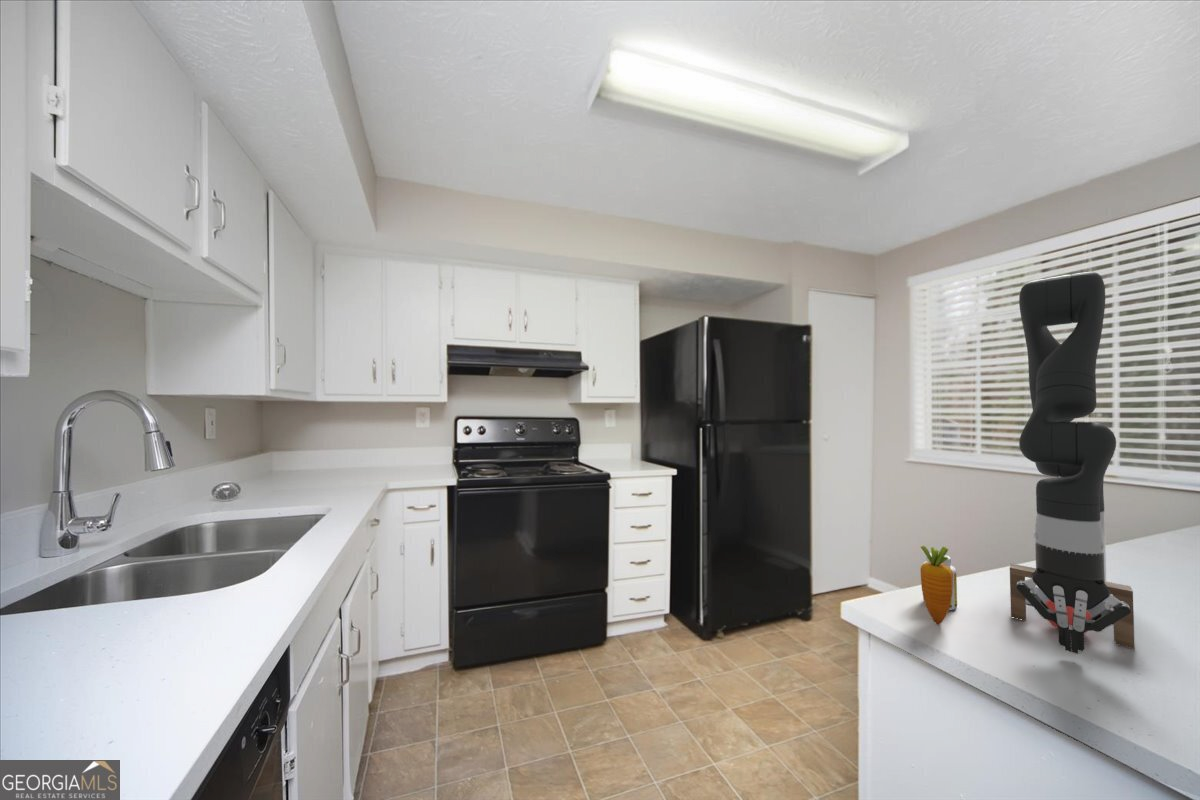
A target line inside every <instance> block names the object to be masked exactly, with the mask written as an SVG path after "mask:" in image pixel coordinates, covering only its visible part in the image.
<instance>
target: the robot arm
mask: <svg viewBox="0 0 1200 800" xmlns="http://www.w3.org/2000/svg"><path fill="white" fill-rule="evenodd" d="M1018 297H1019V298H1018V299H1019V300H1018V304H1019V311H1020V312H1019V313H1020V318H1021V324H1022V328H1023V334H1024V339H1025V344H1026V345H1025V346H1026V350H1027V362H1028V383H1029V394H1030V400H1031V402H1030V403H1031V406H1032V412H1031V414H1030V417H1028V420H1027V422H1026V424H1025V426H1024V427H1023V429H1022V432H1021V434H1020V437H1019V443H1018V444H1019V450H1020V452H1021V453H1022V456H1024V457H1025V458H1026V459H1027V460H1029V461H1031V462H1032V463H1033V462H1034V464H1035V467H1036V469H1037V471H1038V472H1039V473H1040V474H1042V475H1044V476H1048V477H1049V478H1042V479H1040V480H1038V481H1037V482H1036V487H1035V496H1036V498H1035V499H1036V516H1035V523H1034V534H1033V535H1034V539H1035V540H1034V541H1035V568H1036V570H1035V572H1034V573H1033V574H1032V578H1029V579H1028V578H1027V579H1025V581H1022V580H1019V581H1018V582H1017V589H1018V590H1019V592H1020V593H1021V594H1022V595H1023V596H1024V597H1025V598H1026V599H1027V600H1028V601H1029V603H1030V604H1031V605H1032V607H1033V608H1034V609H1035V610H1036V611H1037V612H1038V614H1039V615H1040V616H1041V617H1042V618H1043V619H1044V620H1046V621H1048V620H1051V621H1053V622H1055V623H1056V624H1057V625H1058V629H1057V635H1058V636H1057V637H1058V643H1059V646H1062V647H1064V651H1065V652H1066V651H1067V652H1069V653H1071V652H1072V653H1073V654H1079V651H1080V652H1084V651H1085V646H1086V645H1085V634H1086V633H1087V632H1088V631H1091V632H1092V631H1093V632H1095V633H1100V632H1102V631H1103V630H1105V629H1106V628H1109V626H1111V625H1113V623H1115V622H1117V621H1118V620H1120V619H1122V618H1123V617H1125V616H1127V615H1128V614H1130V613H1131V610H1130V608H1129V605H1128V604H1127V603H1126V602H1124V601H1120V600H1118V599H1117V598H1115V597H1114V596H1113V594H1110V591H1109V588H1108V587H1107V586H1106V584H1105V581H1106V582H1108V581H1107V554H1106V553H1107V552H1106V548H1107V547H1106V520H1105V519H1106V518H1105V517H1106V516H1105V499H1104V497H1105V496H1104V482H1105V481H1104V480H1105V479H1104V477H1105V476H1106V475H1105V474H1106V472H1107V470H1108V467H1109V465H1110V463H1111V461H1112V459H1113V456H1114V455H1115V451H1116V448H1117V438H1116V436H1115V433H1114V432H1113V431H1112V430H1111V428H1109V427H1108V426H1106V425H1104V424H1102V423H1099V422H1091V421H1090V422H1084V421H1081V422H1080V421H1079V422H1078V421H1077V422H1073V421H1074V420H1075V419H1079V418H1084V417H1086V416H1089V415H1091V414H1092V413H1093V412H1095V410H1096V407H1097V381H1096V380H1097V378H1096V368H1097V367H1096V366H1097V360H1098V359H1097V358H1098V353H1099V348H1100V343H1101V338H1102V334H1103V333H1102V332H1103V326H1104V318H1105V311H1106V310H1105V309H1106V287H1105V281H1104V280H1103V276H1102V275H1101V274H1099V273H1098V272H1094V271H1087V272H1078V273H1077V272H1076V273H1072V274H1065V275H1064V274H1063V275H1059V276H1054V277H1053V276H1052V277H1047V278H1041V279H1040V278H1039V279H1035V280H1031V281H1028V282H1026V283H1025V284H1023V286H1022V287H1021V288H1020V291H1019V296H1018ZM1074 323H1075V324H1076V325H1075V327H1074V328H1073V330H1072V332H1071V333H1070V334H1069V335H1068V337H1067V338H1066V339H1064V340H1063V342H1062V343H1061V342H1059V341H1058V340H1057V339H1056V338H1055V337H1054V336H1053V334H1052V333H1051V332H1050V330H1049V328H1048V326H1057V325H1066V324H1067V325H1068V324H1074ZM1036 586H1037V588H1040V590H1041V591H1042V592H1043V593H1044V594H1045V595H1046V596H1047V598H1048V599H1049V600H1051V601H1052V602H1054V603H1055V608H1056V612H1054V611H1052V610H1051V609H1050V608H1049V607H1048V606H1047V605H1046V604H1045V603H1044V602H1043V601H1042V600H1041V599H1040V598H1039V596H1038V595H1037V594H1036V593H1037V589H1036ZM1105 600H1106V601H1105ZM1102 601H1103V602H1106V603H1105V608H1106V609H1105V610H1103V611H1102V612H1100V613H1098V614H1097V615H1095V616H1094V617H1092V618H1090V619H1085V618H1086V610H1090V609H1092V608H1094V607H1095V606H1097V605H1098V604H1099V603H1101V602H1102ZM1031 605H1030V606H1031ZM1066 606H1070V607H1073V617H1072V625H1071V628H1070V625H1069V621H1068V617H1067V610H1066ZM1086 631H1087V632H1086Z"/></svg>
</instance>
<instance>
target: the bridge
mask: <svg viewBox="0 0 1200 800" xmlns="http://www.w3.org/2000/svg"><path fill="white" fill-rule="evenodd" d="M1035 570H1036V567H1032V566H1026V565H1021V564H1016V563H1015V564H1014V563H1010V565H1009V588H1010V589H1009V591H1010V593H1009V594H1010V595H1009V597H1010V618H1011V617H1014V618H1013V619H1015V618H1018V619H1017V620H1019V619H1022V620H1021V621H1023V620H1025V621H1024V622H1026V621H1027V620H1026V619H1027V607H1026V606H1027V604H1026V598H1025V597H1024V596H1023V595H1022V594H1021V593H1020V592H1019V590H1018V589H1017V582H1018V581H1019V580H1022V581H1025V580H1026V578H1027V579H1028V578H1029V579H1031V578H1032V574H1033V573H1034V572H1035ZM1106 581H1107V580H1106ZM1106 581H1105V584H1106V586H1107V587H1108V588H1109V591H1110V594H1111V595H1112V596H1114V597H1115V598H1117V599H1118V600H1120V601H1124V602H1126V603H1127V604H1128V605H1129V608H1130V610H1131V613H1130V614H1128V615H1127V616H1125V617H1123V618H1122V619H1120V620H1118V621H1117V622H1115V623H1114V625H1113V639H1114V638H1115V639H1114V642H1116V643H1115V645H1117V644H1118V645H1117V646H1122V647H1125V648H1129V649H1135V622H1134V621H1135V619H1134V618H1135V617H1134V613H1135V612H1134V591H1133V589H1132V587H1131V585H1128V584H1121V583H1116V582H1112V581H1111V582H1110V581H1107V582H1106Z"/></svg>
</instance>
